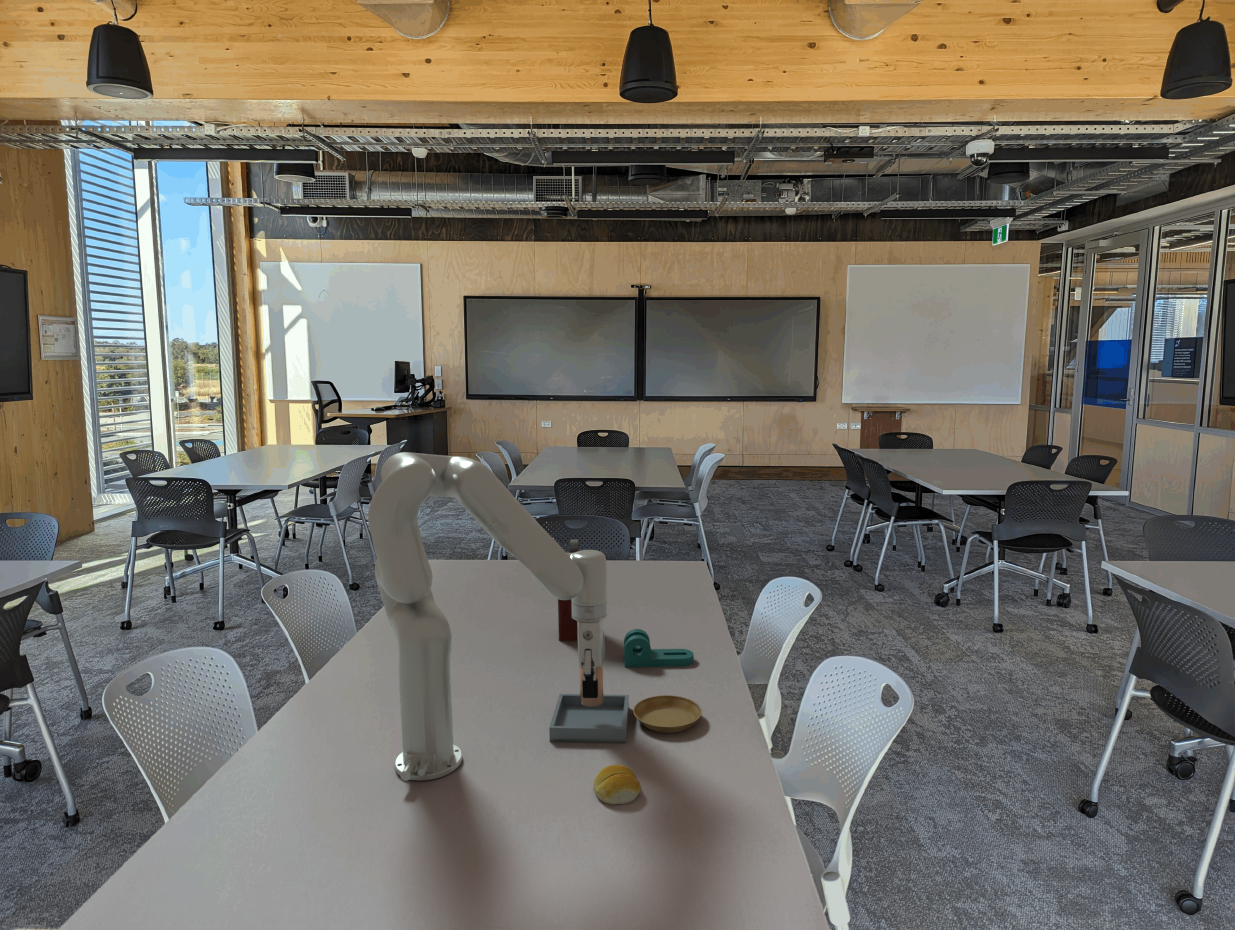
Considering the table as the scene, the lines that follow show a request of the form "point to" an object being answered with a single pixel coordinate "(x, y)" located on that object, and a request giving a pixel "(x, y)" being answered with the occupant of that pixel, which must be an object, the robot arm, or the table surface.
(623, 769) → the bread roll
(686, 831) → the table surface
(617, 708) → the slate tray
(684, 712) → the plant saucer
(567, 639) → the red gray rectangular canister
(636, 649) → the bracket
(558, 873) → the table surface
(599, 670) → the shaker
